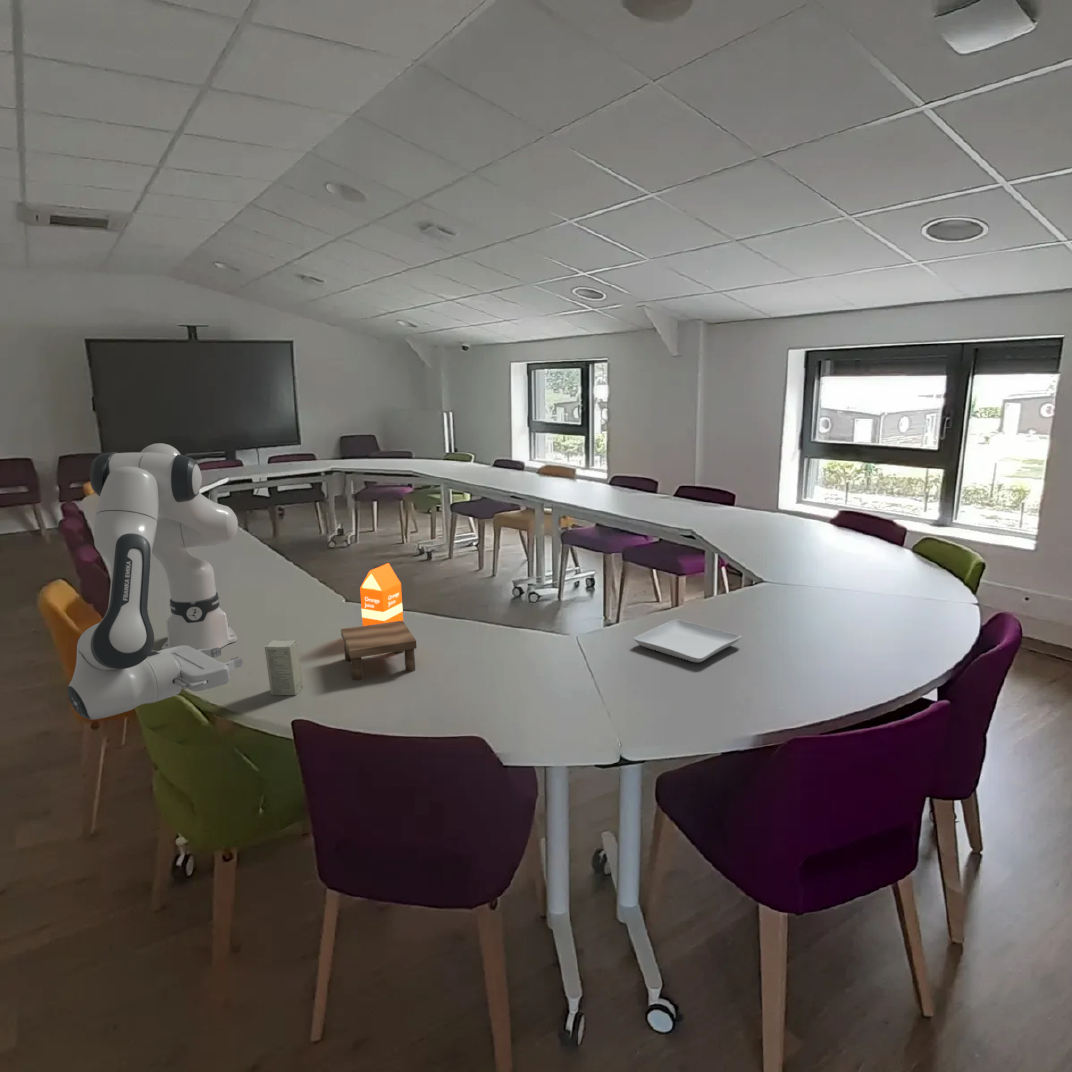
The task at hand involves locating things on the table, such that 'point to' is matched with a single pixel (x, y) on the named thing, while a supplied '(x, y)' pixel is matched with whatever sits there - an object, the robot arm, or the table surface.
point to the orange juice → (381, 597)
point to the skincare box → (283, 667)
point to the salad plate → (687, 640)
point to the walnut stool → (378, 644)
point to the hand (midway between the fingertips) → (230, 655)
